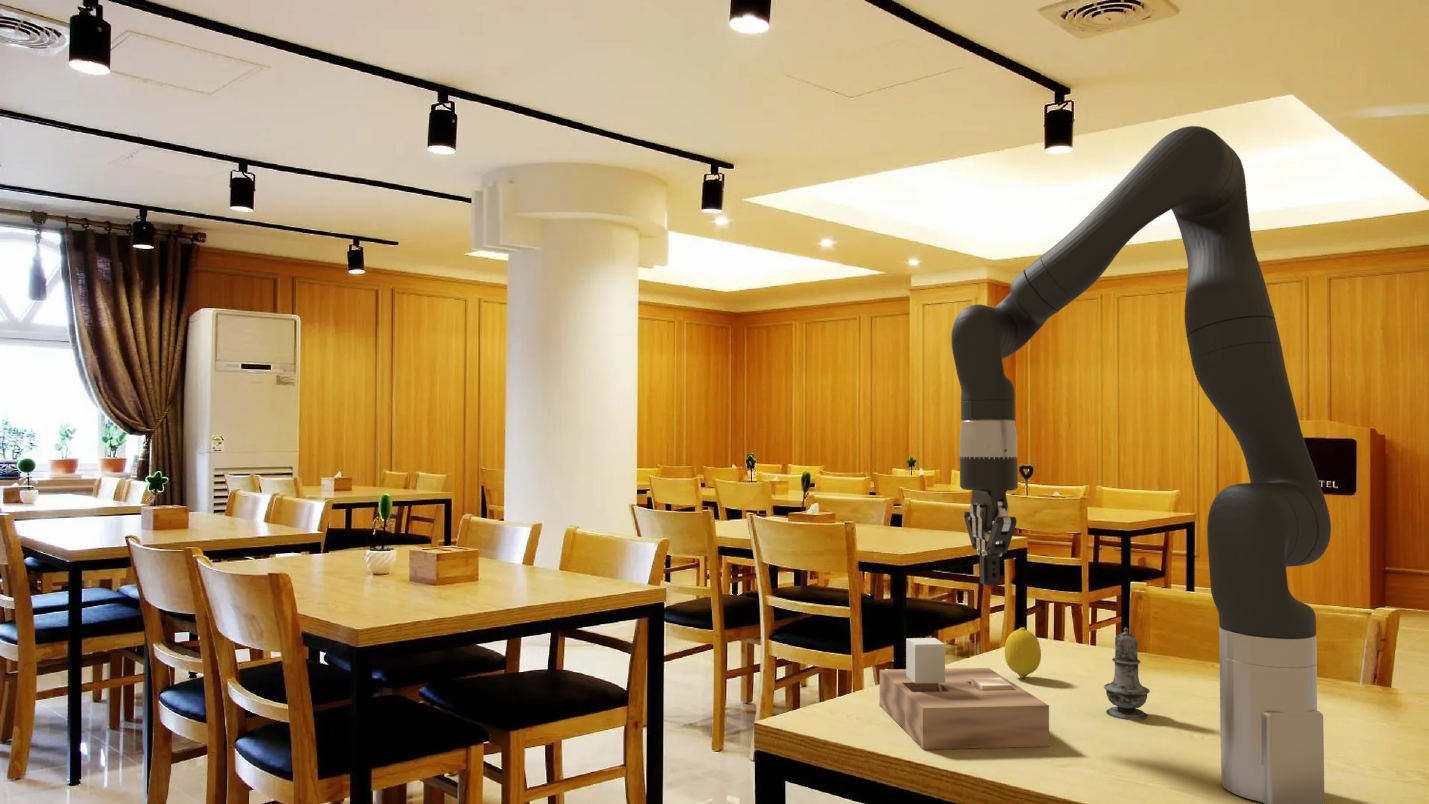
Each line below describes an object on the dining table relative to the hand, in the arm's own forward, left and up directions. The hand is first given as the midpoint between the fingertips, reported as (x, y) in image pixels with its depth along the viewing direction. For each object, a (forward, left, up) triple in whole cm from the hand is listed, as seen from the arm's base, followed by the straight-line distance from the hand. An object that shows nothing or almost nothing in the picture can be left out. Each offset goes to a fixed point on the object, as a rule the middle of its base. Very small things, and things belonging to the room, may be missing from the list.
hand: (989, 584), depth 132 cm
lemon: (+24, -15, -19) cm, 34 cm away
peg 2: (0, 0, -18) cm, 18 cm away
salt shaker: (+3, -21, -19) cm, 28 cm away
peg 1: (0, +9, -13) cm, 15 cm away
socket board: (0, +4, -19) cm, 19 cm away
